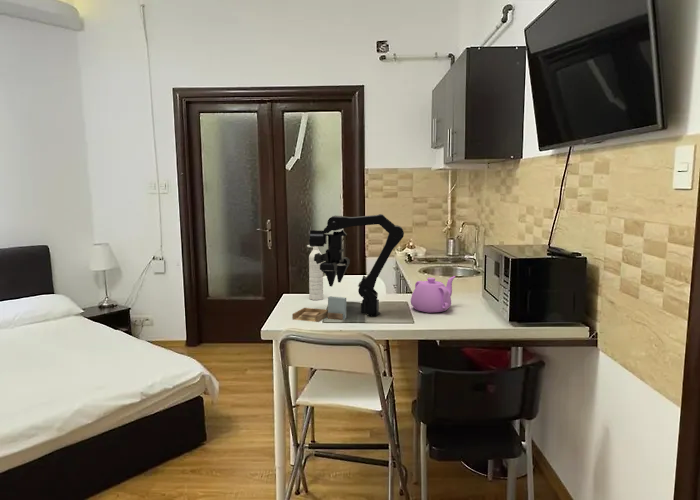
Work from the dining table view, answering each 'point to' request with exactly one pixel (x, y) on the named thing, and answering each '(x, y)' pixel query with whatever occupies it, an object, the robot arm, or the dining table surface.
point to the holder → (336, 316)
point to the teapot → (432, 295)
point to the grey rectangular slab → (337, 305)
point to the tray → (322, 312)
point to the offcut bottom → (307, 318)
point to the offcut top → (310, 314)
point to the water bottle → (315, 276)
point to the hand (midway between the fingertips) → (335, 284)
